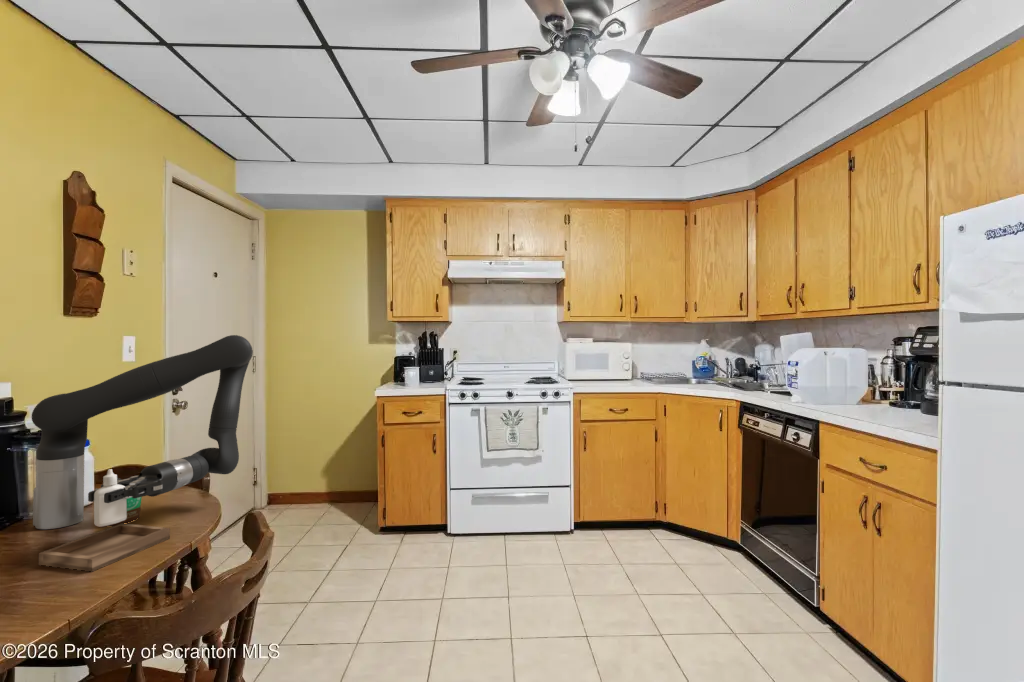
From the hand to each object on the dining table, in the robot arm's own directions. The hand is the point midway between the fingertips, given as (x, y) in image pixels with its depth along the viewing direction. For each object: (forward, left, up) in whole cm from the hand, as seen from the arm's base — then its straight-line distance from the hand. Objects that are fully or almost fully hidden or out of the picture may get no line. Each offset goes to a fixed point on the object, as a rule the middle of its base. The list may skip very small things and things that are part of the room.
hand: (97, 497), depth 110 cm
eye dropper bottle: (0, +3, -7) cm, 7 cm away
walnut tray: (0, +3, -13) cm, 13 cm away
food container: (-14, +19, -13) cm, 27 cm away
